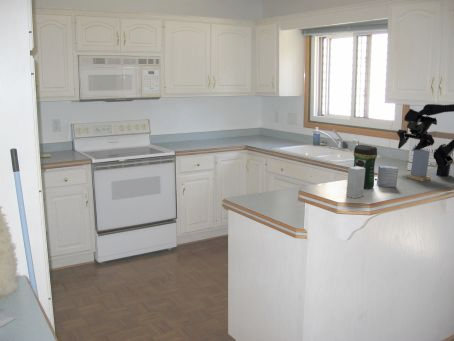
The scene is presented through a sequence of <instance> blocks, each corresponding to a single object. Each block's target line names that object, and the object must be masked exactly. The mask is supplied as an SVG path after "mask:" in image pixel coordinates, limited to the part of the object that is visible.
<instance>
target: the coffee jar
mask: <svg viewBox="0 0 454 341" xmlns="http://www.w3.org/2000/svg"><path fill="white" fill-rule="evenodd" d="M377 157H378V148H377V146H376V147H375V146H372V145H368V144H367V145H366V144H357V145H355V147H354V150H353V158H354V160H353V167H356V166H359V167H363V168H365V178H364V188H363V190H364V189H365V190H366V189H368V190H370V189H373V188H374V186H375V165H376V164H375V163H376V159H377Z"/></svg>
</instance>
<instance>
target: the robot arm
mask: <svg viewBox="0 0 454 341" xmlns="http://www.w3.org/2000/svg"><path fill="white" fill-rule="evenodd" d="M449 112H451V113H453V112H454V103H453V104H452V103H451V104H440V103H427V104H425V105H424V106H423V108H422V109H421V110H419V111H417V110H415V109H413V108H409V109H408V110H407V112H406V114H405V115H404V120H403V121H404V122H407V124H406V128H407V129H408V130H409V131H407V130H406V129H398V130H397V132H396V134H397V136H398V138H399V142H398V146H397V148H398V150H400V149H401V148H402V147H403V146H405V144H406V143H408V142H407V141H409V139H414V140H418V141H419V142H418V143H417V145H416V146H415V148H414V149H413V151H414V150H423V149H424V148H426V147H427V148H428V147H430V146H431V147H432V146H433V145H434V144H435V140H434V139H435V138H434V137H433V135H432V134H431V133H428V130H429V129H430V127H431V126H432V125H435V126H437V125H438V119H437V117H431V116H436V115H440V114H442V113H449ZM453 153H454V138H453V139H452V140H450V142H449V143H448V144H447V143H443V144H440V145H439V146H438V147H437V148H435V149H434V152H433V154H432V155H433V156H432V157H433V159H434V160H435V163H436V165H437V168H436V172H435V175H436V176H438V177H451V178H452V177H453V176H452V175H450V173H451V165H452V164H453V163H454V159H453V157H451V156H452V155H453Z"/></svg>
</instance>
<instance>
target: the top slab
mask: <svg viewBox="0 0 454 341" xmlns="http://www.w3.org/2000/svg"><path fill="white" fill-rule="evenodd" d="M408 178H409V179H412V180H417V181H421V182H425V181H428V180H430V179H431V176H430V175H426V176H424V177H417V176H414V175H411V174H409V175H408Z"/></svg>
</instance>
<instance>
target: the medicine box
mask: <svg viewBox="0 0 454 341" xmlns="http://www.w3.org/2000/svg"><path fill="white" fill-rule="evenodd" d="M398 178H399V168H398V167H397V166H390V165H378V170H377V178H376V185H377V186H378V187H386V188H387V187H388V188H397V184H398Z"/></svg>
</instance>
